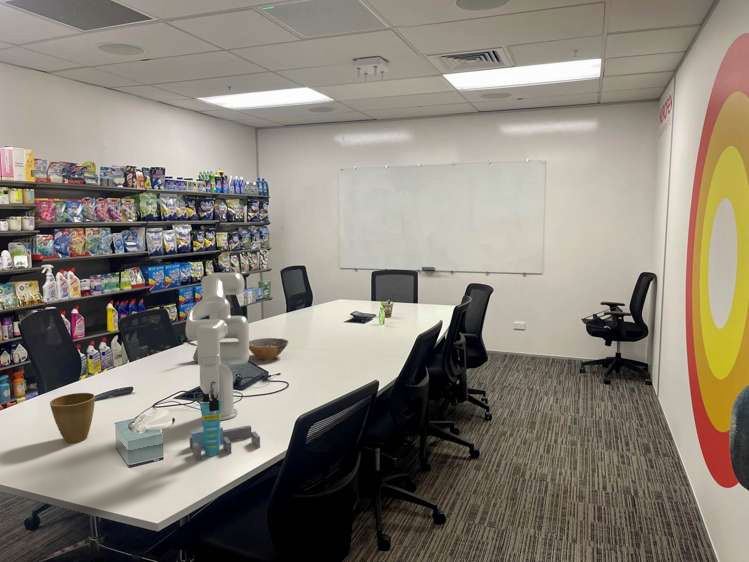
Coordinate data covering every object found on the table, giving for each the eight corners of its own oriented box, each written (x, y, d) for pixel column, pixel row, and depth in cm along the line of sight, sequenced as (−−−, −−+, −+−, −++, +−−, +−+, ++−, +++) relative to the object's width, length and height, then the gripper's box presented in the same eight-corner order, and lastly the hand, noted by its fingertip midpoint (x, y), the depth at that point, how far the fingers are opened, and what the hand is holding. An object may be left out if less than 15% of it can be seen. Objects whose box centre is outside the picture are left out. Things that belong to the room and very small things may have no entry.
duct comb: (189, 446, 200) (189, 431, 199) (250, 435, 211) (249, 420, 210) (196, 460, 188) (196, 443, 188) (260, 447, 199) (259, 431, 199)
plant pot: (87, 428, 217) (84, 390, 215) (104, 438, 207) (101, 397, 206) (46, 440, 205) (43, 399, 204) (62, 451, 196) (59, 408, 194)
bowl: (297, 356, 331) (296, 340, 330) (268, 365, 311) (268, 348, 309) (266, 351, 345) (266, 335, 344) (237, 359, 324) (236, 343, 323)
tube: (202, 458, 190) (200, 404, 188) (200, 452, 195) (198, 400, 193) (224, 454, 193) (222, 402, 191) (222, 449, 198) (220, 397, 196)
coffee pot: (200, 358, 327) (199, 334, 325) (217, 359, 324) (216, 335, 322) (178, 367, 306) (177, 341, 305) (196, 369, 303) (195, 342, 302)
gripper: (193, 354, 196) (195, 400, 198) (203, 367, 181) (205, 416, 183) (214, 351, 199) (216, 396, 202) (226, 364, 185) (227, 412, 187)
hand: (211, 406), depth 193 cm, fingers open, 9 cm apart
